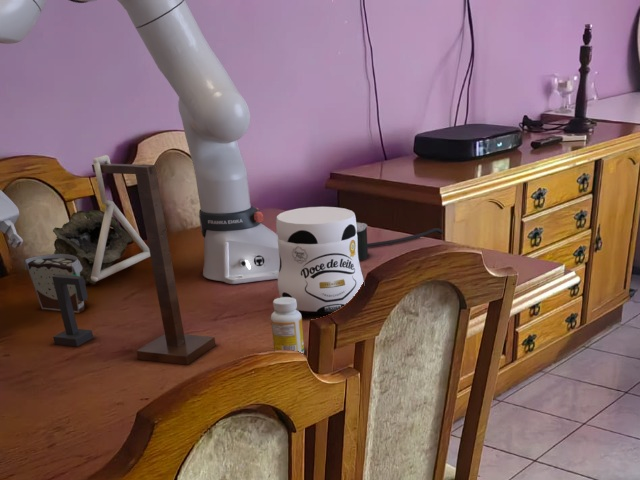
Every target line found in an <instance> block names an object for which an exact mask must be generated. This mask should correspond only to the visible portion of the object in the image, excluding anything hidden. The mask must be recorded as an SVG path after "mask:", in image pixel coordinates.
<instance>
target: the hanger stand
mask: <svg viewBox="0 0 640 480" xmlns="http://www.w3.org/2000/svg"><path fill="white" fill-rule="evenodd" d="M92 162H93V164H91V168H92V172H93V173H95V177H96V181H97V186H98V191H99V196H100V200H101V201H100V202H101V203H102V204H103V205H105V210H104V212H105V213H104V218H103V223H102V227H101V232H100V237H99V241H98V246H97V251H96V255H95V260H94V265H93V269H92V274H91V280H92V281H94V282H96V281H97V282H98V281H101V280H103V279H106V278H107V277H109V276H112V275H114V274H116V273H118V272H120V271H122V270H124V269H127V268H128V267H132V266H133V265H135V264H137V263H140V262H141V261H144V260H146V259H148V258H150V261H151V266H152V272H153V277H154V282H155V288H156V293H157V299H158V305H159V310H160V316H161V321H162V326H163V332H164V334H162V335H160V336H159V337H157V338H155V339H154V340H152V341H150V342H149V343H147V344H146V345H144V346H142V347H141V348H139V349H137V350H136V355H137V359H138V360H141V361H148V362H149V361H150V362H158V363H168V364H175V365H183V366H185V365H186V366H188V365H189V364H192V363H193V362H194V361H196V360H197V359H198V358H200V357H201V356H203V355H204V354H206V353H207V352H208V351H210V350H212V349H213V348H214V347H216V346H217V345H216V338H215V336H207V335H197V334H188V333H184V332H185V331H184V326H183V320H182V314H181V308H180V303H179V297H178V292H177V291H178V290H177V285H176V279H175V273H174V268H173V263H172V256H171V251H170V245H169V238H168V233H167V227H166V221H165V215H164V209H163V203H162V196H161V192H160V186H159V180H158V173H157V167H156V164H143V163H142V164H135V163H134V164H133V163H132V164H131V163H111V158H110V156H109V155H108V154H104V155H100V156H97V157H94V158H93V159H92ZM103 174H115V175H116V174H117V175H118V174H119V175H134V176H135V180H136V185H137V191H138V196H139V201H140V206H141V213H142V217H143V223H144V228H145V229H144V230H145V234H146V239H147V244H146V243H145V241H144V240H143V239H142V237H141V236H140V234H139V233H138V232H137V231H136V229H135V228H134V227H133V226H132V224H131V223H130V222H129V220H128V219H127V217H126V216H125V215H124V214H123V213H122V212H121V210H120V209H119V207H118V205H116V204H115V202H114V201H113V200H109V199H107V194H106V188H105V183H104V178H103ZM113 215H114V218H115V219H116V220H117V221H118V222H119V223H120V225H121V226H122V228H124V230H125V231H127V232H128V233H129V234H130V236H131V237H132V238H133V240H132V241H134V242H135V243H136V245H137V246H138V247H139V249H140V250H141V251H142V252H140V253H137V254H135V255H133V256H131V257H128V258H126V259H124V260H122V261H120V262H117V263H115V264H112V265H111V266H110V267H108V268H106V269H104V270H102V271H100V270H101V265H102V260H103V255H104V251H105V246H106V241H107V237H108V232H109V227H110V223H111V218H112V217H113ZM110 228H111V227H110ZM97 282H96V283H97Z"/></svg>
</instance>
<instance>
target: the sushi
mask: <svg viewBox="0 0 640 480" xmlns="http://www.w3.org/2000/svg"><path fill="white" fill-rule="evenodd" d="M356 224H357V239H358V259H359V262H362V261H365V260H366V259H367V258H368V256H369V247H368V246H367V244H368V232H367V231H368V224H367V223H364V222H359V221H358V222H357V221H356Z"/></svg>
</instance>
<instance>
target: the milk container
mask: <svg viewBox="0 0 640 480" xmlns="http://www.w3.org/2000/svg"><path fill="white" fill-rule="evenodd" d="M275 223H276V224H275V226H276V227H275V228H276V234H277V236H278V248H279V256H280V268H279V274H278V279H277V290H278V294H279V298H281V297H291V298H294V299H296V302H297V308H296V309H295V310H297V311H299V312H300V313H301V314H304V315H315V316H317V315H331V314H330V313H332V312H334V311H336V310H338V309H340V308H341V307H342V306H344V305H345V304H346V303H348V302H349V301H350V300H351V299H352V298H353V297H354V296H355V294H356V293H357V292H358V290H359V289H360V287H361V285H362V284H363V282H364V283H365V277H364V274H363V270H362V266H361V265H360V261H359V259H358V239H357V224H356V223H357V218H356V214H355V212H354V211H353V210H350V209H347V208H343V207H335V206H308V207H299V208H294V209H289V210H286V211H283V212H280V213H279V214H278V215H277V216H276V221H275ZM332 314H333V313H332Z"/></svg>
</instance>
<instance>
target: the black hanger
mask: <svg viewBox="0 0 640 480" xmlns="http://www.w3.org/2000/svg"><path fill="white" fill-rule="evenodd" d="M52 278H53V282H54V287H55V291H56V295H57V299H58V303H59V307H60V311H59V312H60V315H61V318H62V319H61V320H62V323H63V327H64V330H63V331H61V332H59V333H57V334H55V335H53V336H52V338H53V343H54V345H57V346H67V347H68V346H69V347H76V348H78V347H80V346H81V345H84V344H85V343H87V342H88V341H90V340H92V339H94V334H93V333H94V332H93V330H92V329H85V328H84V329H83V328H78V324H77V320H76V315H75V312H74V311H73V307H72V303H71V299H70V294H69V290H68V286H67V284H69V285H75V287H76V291H77V295H78V300H79V301H84V302H85V301H86V300H88V299H89V295H88V291H87V290H88V289H87V285H85V281H84V277H83V276H72V275H60V274H57V275H55V276H52Z"/></svg>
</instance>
